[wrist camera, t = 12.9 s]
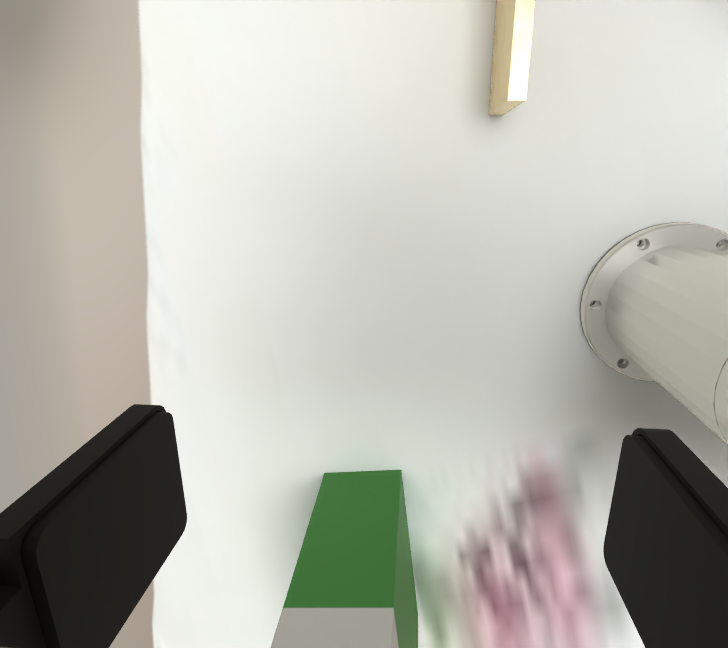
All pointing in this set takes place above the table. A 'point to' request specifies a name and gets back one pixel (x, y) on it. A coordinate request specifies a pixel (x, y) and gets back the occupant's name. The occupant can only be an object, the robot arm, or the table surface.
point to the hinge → (511, 54)
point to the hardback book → (353, 569)
